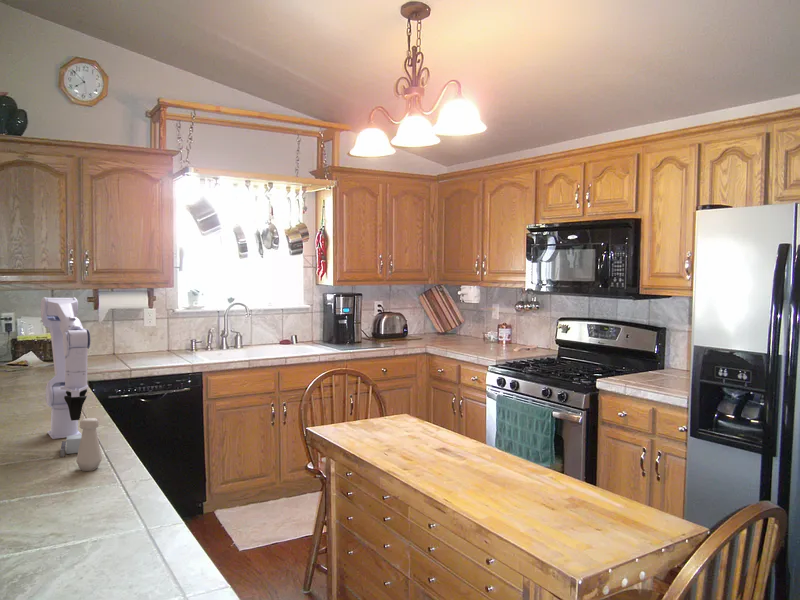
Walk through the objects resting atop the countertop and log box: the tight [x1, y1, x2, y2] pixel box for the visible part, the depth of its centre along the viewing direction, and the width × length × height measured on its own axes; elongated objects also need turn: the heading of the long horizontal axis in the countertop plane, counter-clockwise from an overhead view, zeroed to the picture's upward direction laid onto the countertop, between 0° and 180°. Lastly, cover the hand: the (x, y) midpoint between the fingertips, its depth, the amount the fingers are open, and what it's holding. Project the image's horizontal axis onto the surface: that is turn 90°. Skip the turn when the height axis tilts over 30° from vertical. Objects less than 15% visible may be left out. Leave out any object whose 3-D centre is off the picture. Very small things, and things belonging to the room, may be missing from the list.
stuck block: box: [65, 435, 82, 455], centre depth 169 cm, size 4×4×4 cm
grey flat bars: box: [59, 440, 66, 458], centre depth 169 cm, size 9×7×2 cm
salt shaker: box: [75, 417, 103, 472], centre depth 154 cm, size 6×6×13 cm
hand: (75, 417), depth 174 cm, fingers open, 7 cm apart
